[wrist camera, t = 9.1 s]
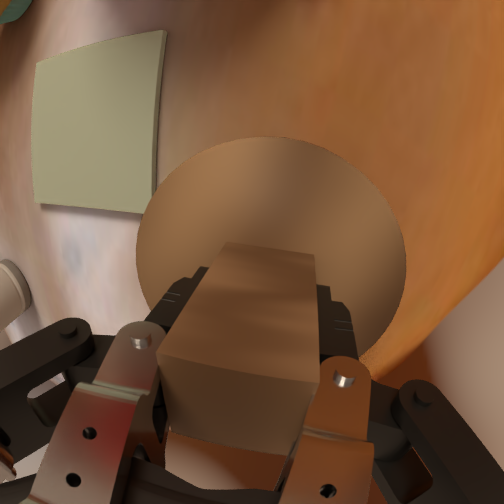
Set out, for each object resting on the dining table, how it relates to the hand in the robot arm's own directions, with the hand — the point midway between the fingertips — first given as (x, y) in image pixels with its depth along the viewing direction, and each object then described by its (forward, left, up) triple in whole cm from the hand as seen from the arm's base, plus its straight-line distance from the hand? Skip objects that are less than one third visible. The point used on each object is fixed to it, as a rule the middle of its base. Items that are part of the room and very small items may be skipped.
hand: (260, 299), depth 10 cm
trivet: (+14, -6, -8) cm, 17 cm away
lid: (0, 0, -2) cm, 2 cm away
